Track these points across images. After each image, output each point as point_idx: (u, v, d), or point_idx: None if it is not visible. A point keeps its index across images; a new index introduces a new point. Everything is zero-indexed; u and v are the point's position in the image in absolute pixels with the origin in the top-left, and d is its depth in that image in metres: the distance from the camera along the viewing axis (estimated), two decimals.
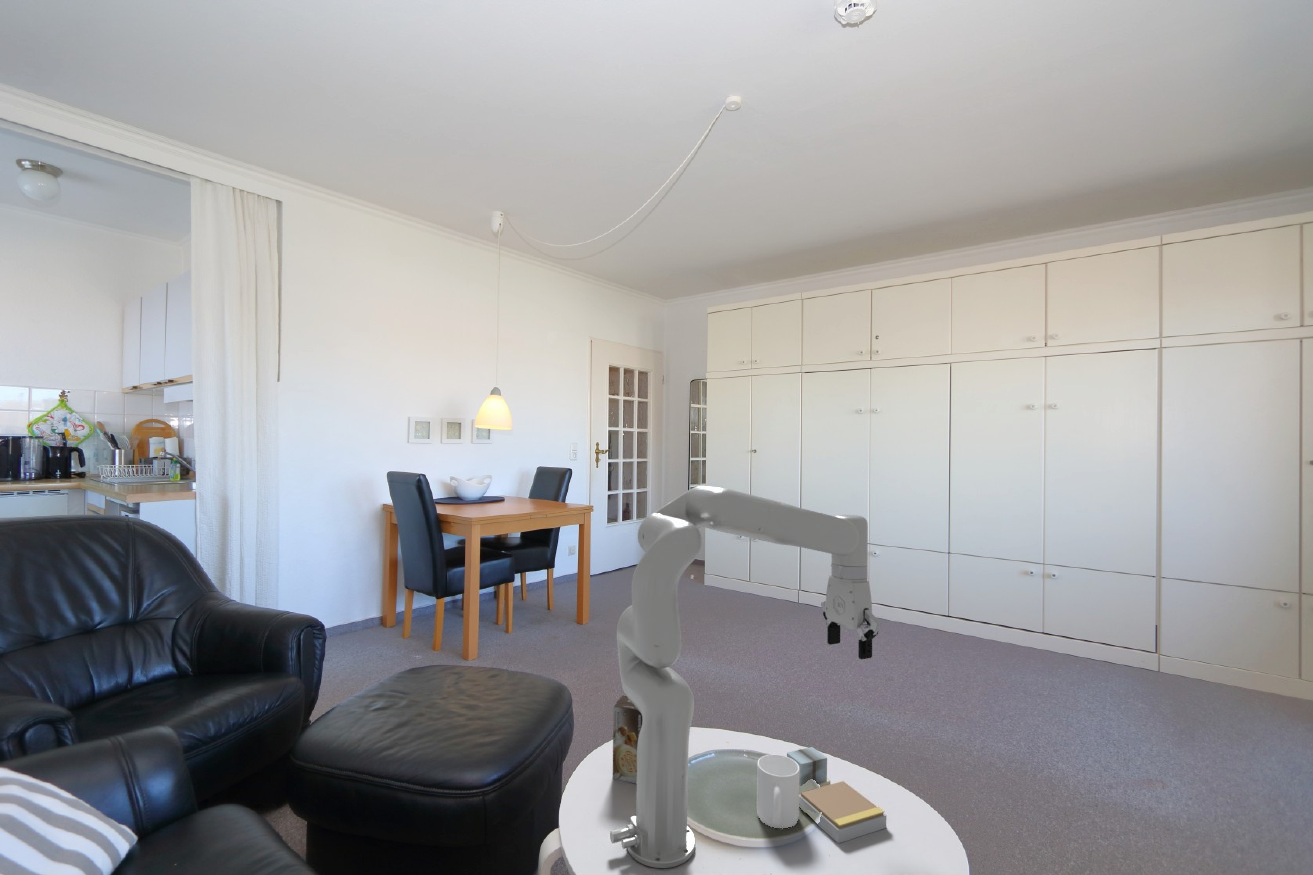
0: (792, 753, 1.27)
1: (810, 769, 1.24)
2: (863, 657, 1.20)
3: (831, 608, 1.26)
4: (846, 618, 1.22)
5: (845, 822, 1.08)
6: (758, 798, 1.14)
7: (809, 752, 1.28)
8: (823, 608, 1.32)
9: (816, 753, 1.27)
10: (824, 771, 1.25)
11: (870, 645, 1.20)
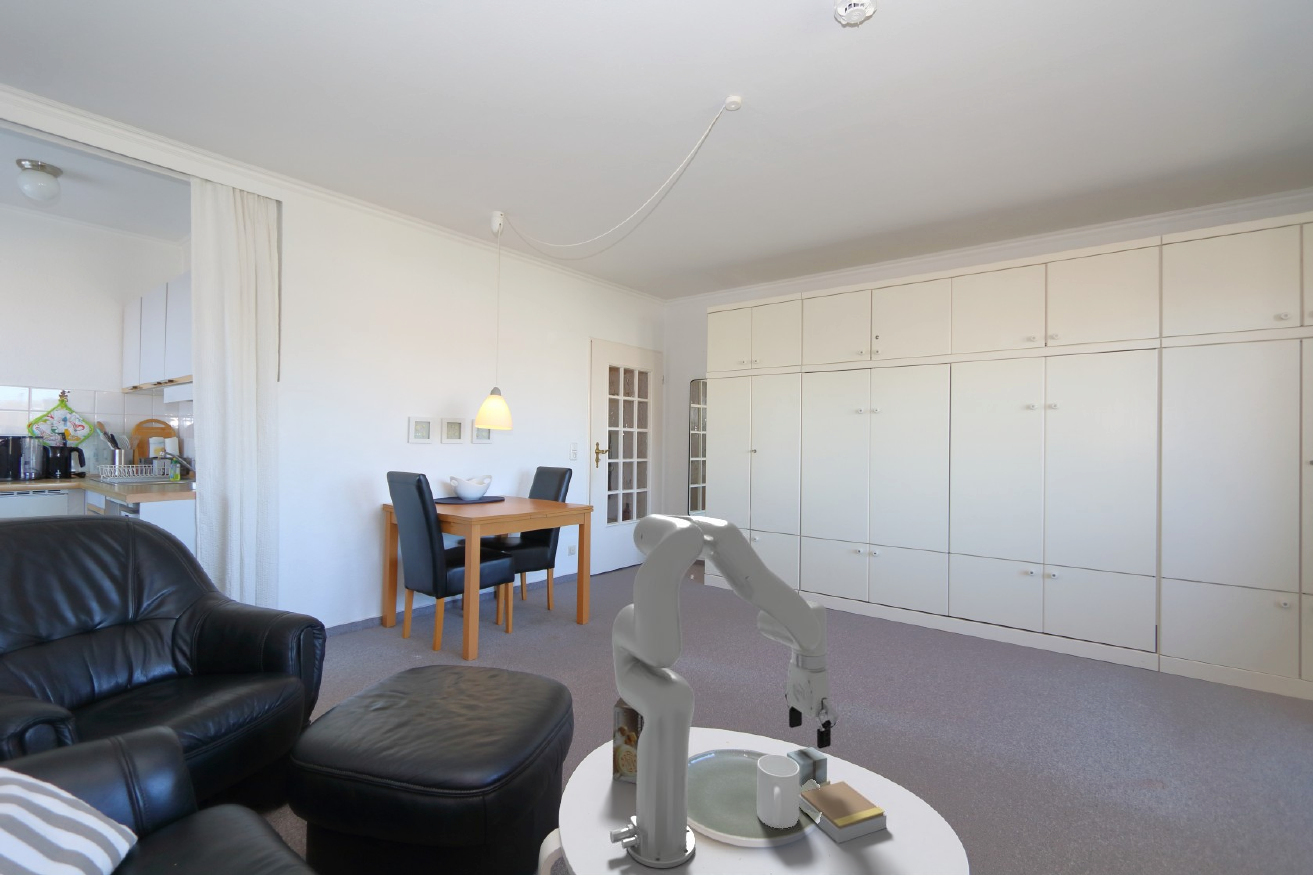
0: (792, 753, 1.27)
1: (810, 769, 1.24)
2: (821, 746, 1.22)
3: (791, 694, 1.28)
4: (805, 707, 1.24)
5: (845, 822, 1.08)
6: (758, 798, 1.14)
7: (809, 752, 1.28)
8: (785, 690, 1.34)
9: (816, 753, 1.27)
10: (824, 771, 1.25)
11: (828, 734, 1.22)
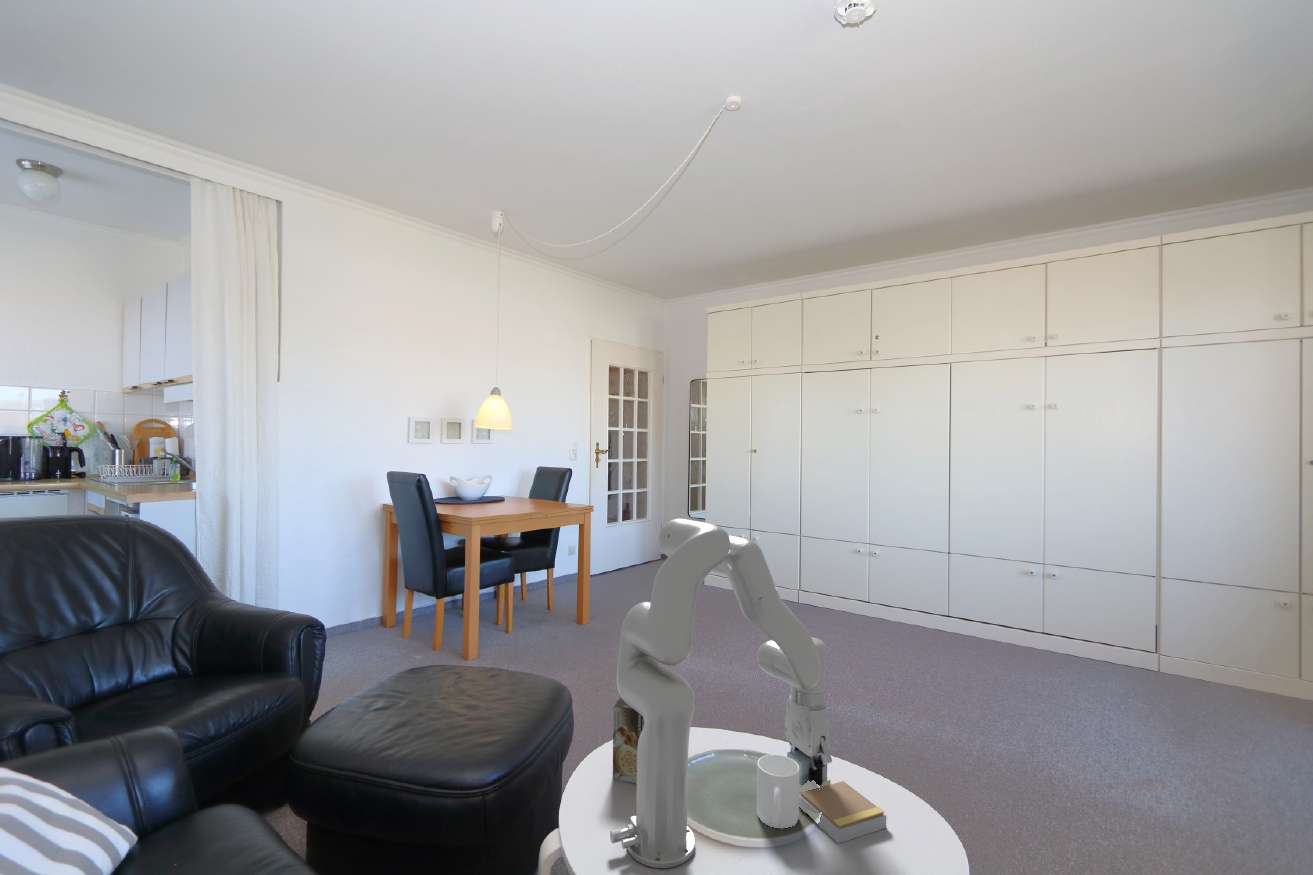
0: (792, 752, 1.27)
1: None
2: None
3: (790, 730, 1.28)
4: (803, 744, 1.24)
5: (845, 822, 1.08)
6: (758, 798, 1.14)
7: None
8: None
9: None
10: (824, 770, 1.25)
11: (820, 773, 1.23)
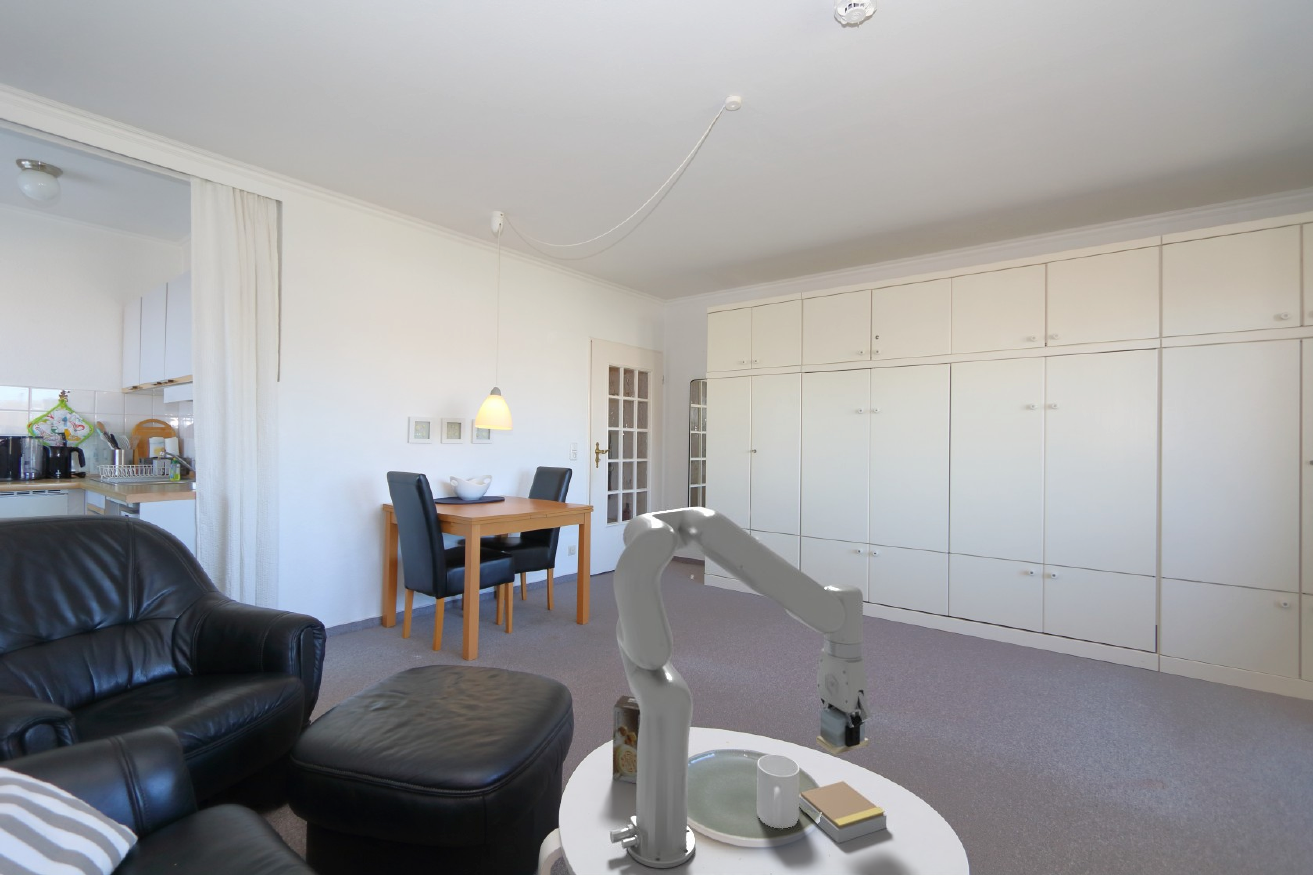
0: (826, 710, 1.16)
1: None
2: (850, 744, 1.12)
3: (823, 686, 1.17)
4: (839, 700, 1.13)
5: (845, 822, 1.08)
6: (758, 798, 1.14)
7: None
8: None
9: None
10: (862, 729, 1.15)
11: (858, 732, 1.12)
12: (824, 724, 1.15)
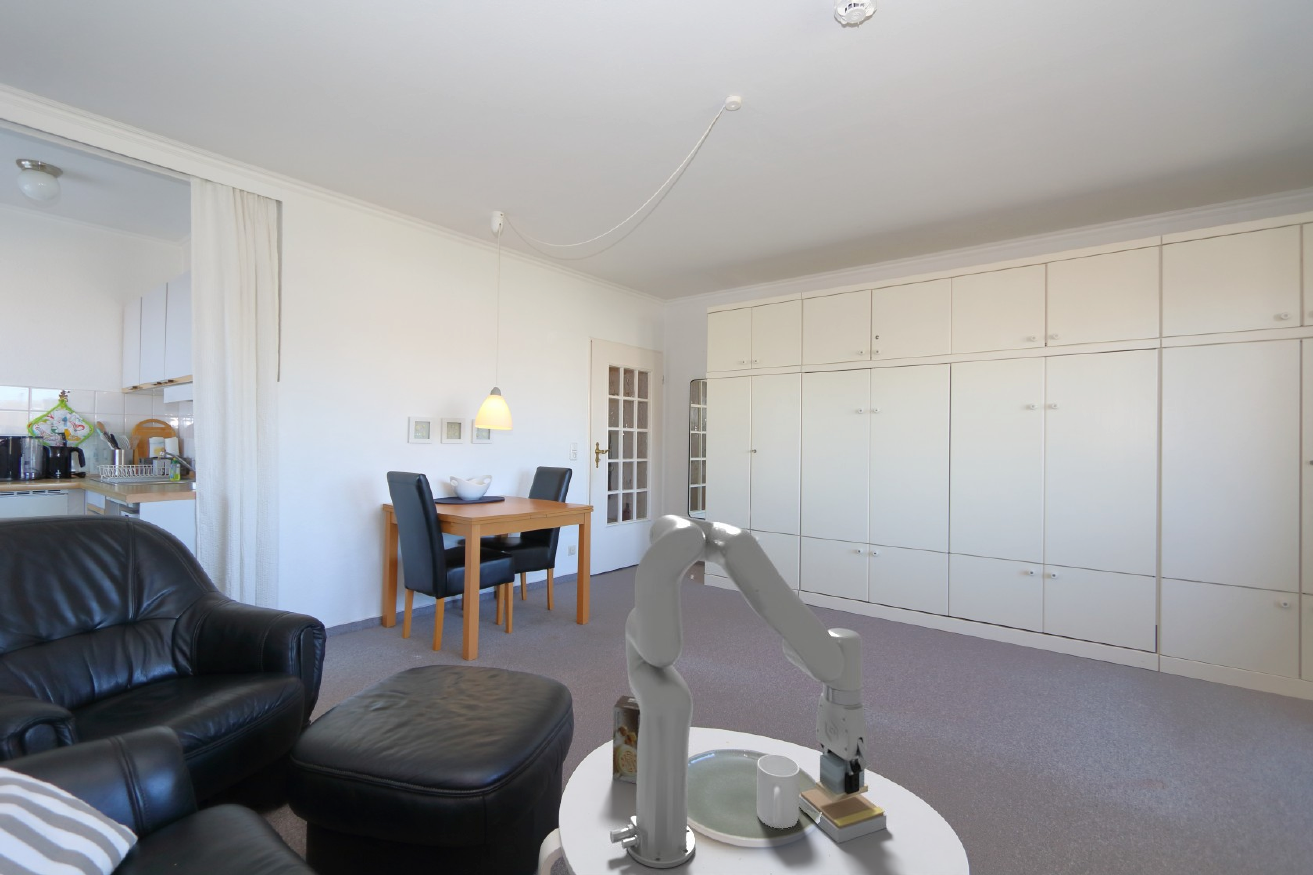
0: (826, 756, 1.16)
1: None
2: (849, 791, 1.12)
3: (822, 731, 1.17)
4: (838, 747, 1.12)
5: (845, 822, 1.08)
6: (758, 798, 1.14)
7: None
8: None
9: None
10: (861, 775, 1.14)
11: (857, 779, 1.12)
12: (823, 770, 1.15)
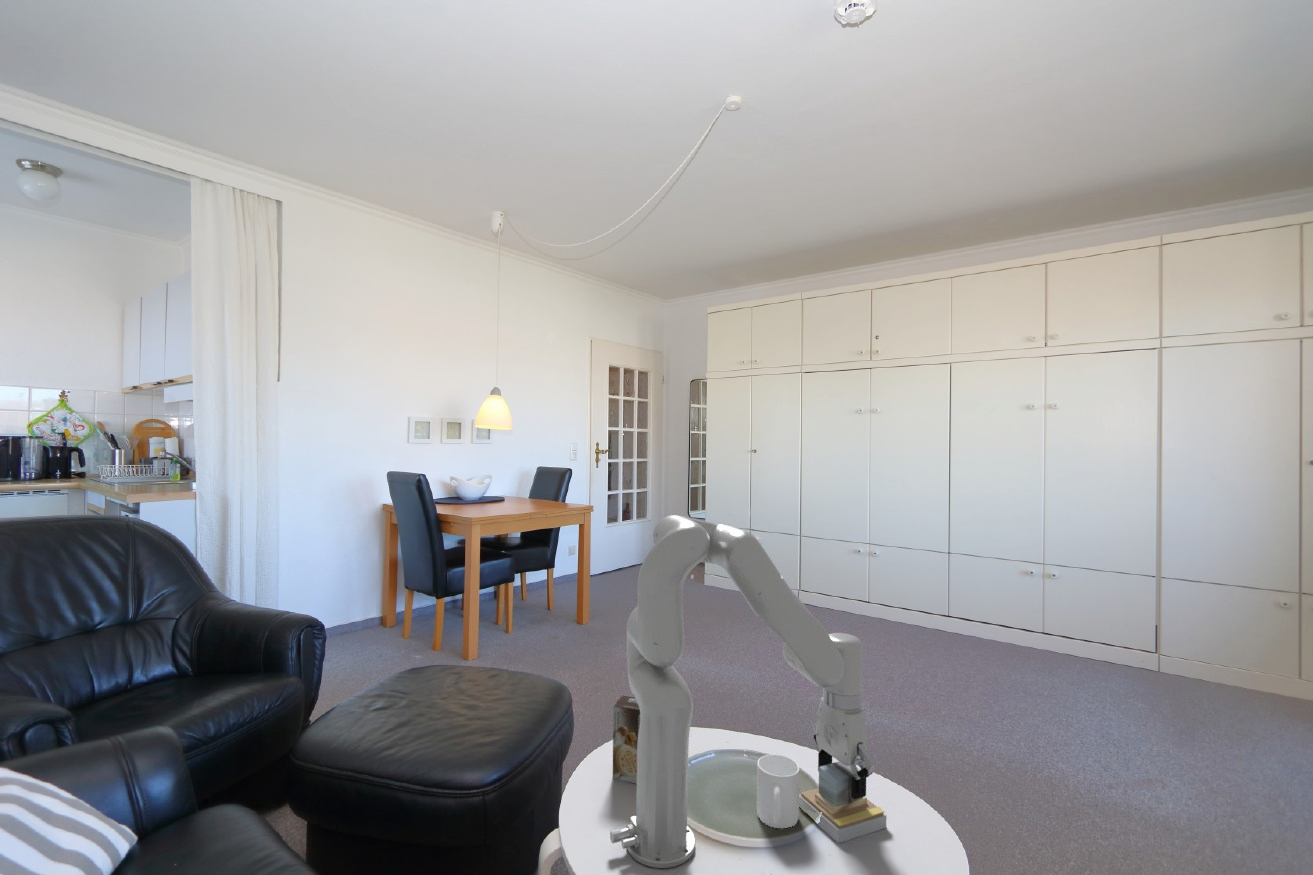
0: (825, 767, 1.16)
1: (846, 785, 1.13)
2: (856, 796, 1.10)
3: (822, 736, 1.17)
4: (838, 751, 1.12)
5: (845, 822, 1.08)
6: (758, 798, 1.14)
7: (843, 766, 1.16)
8: (814, 730, 1.22)
9: None
10: None
11: (864, 784, 1.10)
12: (822, 781, 1.15)
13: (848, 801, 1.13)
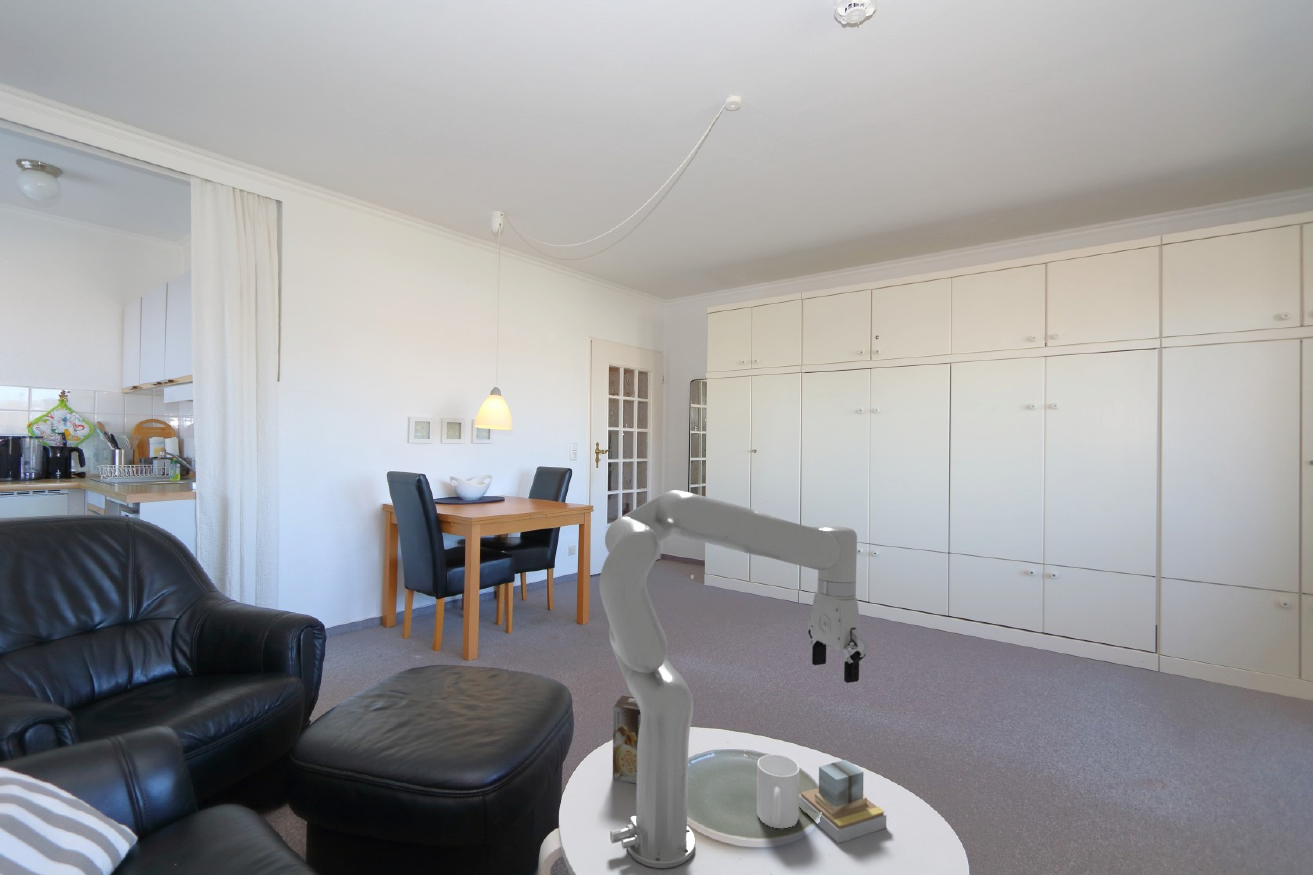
0: (825, 767, 1.16)
1: (846, 785, 1.13)
2: (849, 680, 1.11)
3: (816, 626, 1.18)
4: (832, 638, 1.14)
5: (845, 822, 1.08)
6: (758, 798, 1.14)
7: (843, 766, 1.16)
8: (808, 626, 1.24)
9: (851, 767, 1.16)
10: (860, 787, 1.14)
11: (857, 668, 1.11)
12: (822, 781, 1.15)
13: (848, 801, 1.13)
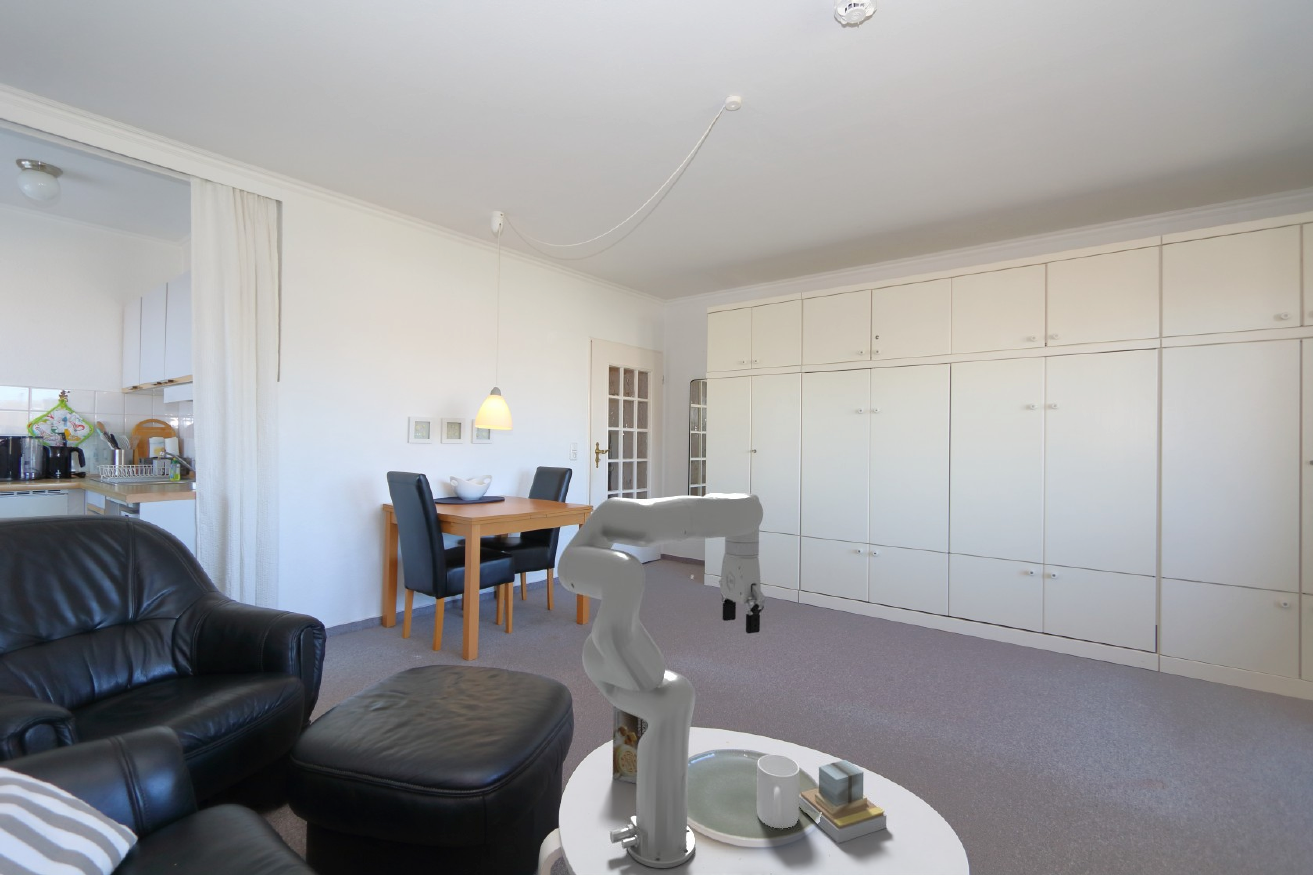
0: (825, 767, 1.16)
1: (846, 785, 1.13)
2: (750, 631, 1.22)
3: (724, 584, 1.29)
4: (735, 593, 1.24)
5: (845, 822, 1.08)
6: (758, 798, 1.14)
7: (843, 766, 1.16)
8: None
9: (851, 767, 1.16)
10: (860, 787, 1.14)
11: (757, 619, 1.22)
12: (822, 781, 1.15)
13: (848, 801, 1.13)
